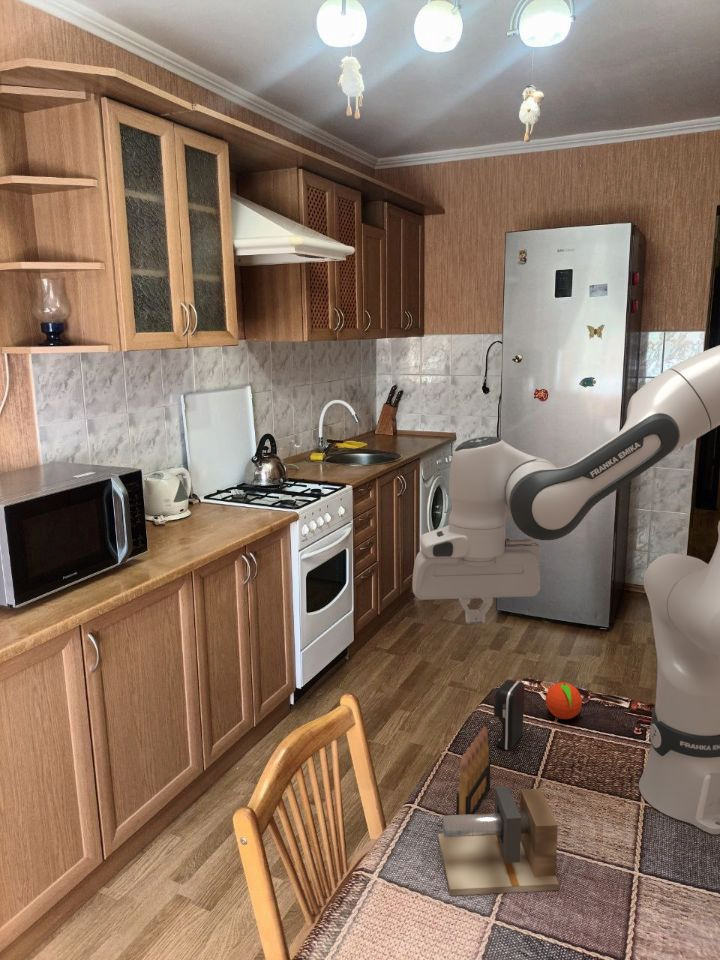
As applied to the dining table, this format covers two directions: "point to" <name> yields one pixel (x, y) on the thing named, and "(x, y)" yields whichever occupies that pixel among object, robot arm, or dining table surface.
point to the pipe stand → (483, 865)
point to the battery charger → (510, 712)
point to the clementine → (563, 700)
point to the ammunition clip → (474, 775)
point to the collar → (508, 824)
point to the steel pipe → (479, 824)
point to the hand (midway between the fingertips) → (475, 622)
